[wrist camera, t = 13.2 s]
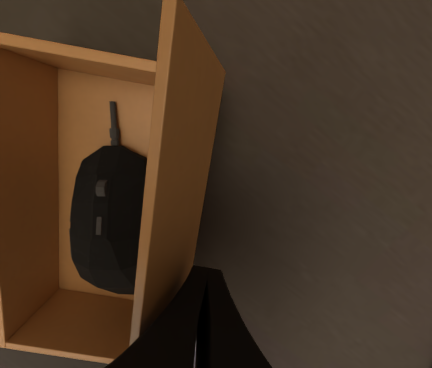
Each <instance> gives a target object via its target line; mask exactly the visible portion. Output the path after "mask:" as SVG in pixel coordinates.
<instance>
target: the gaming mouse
mask: <svg viewBox="0 0 432 368" xmlns="http://www.w3.org/2000/svg"><path fill="white" fill-rule="evenodd" d="M109 103H110V118H111V128H109V132H110V138H111V139H112V140H111V145H112V146H102V147H101V148H99V149H98V150H96V151H95V152H93V153H92V154H90V155H89V156H87V157H86V158H85V159H83V160H82V162H81V165H80V167H79V170H78V173H77V175H76V179H75V185H74V191H73V196H72V202H71V212H70V229H69V237H70V252H71V258H72V261H73V263H74V265H75V267H76V269H77V271H78V273H79V275H80V277H81V278H82V279H84V280H85V281H87V282H89V283H90V284H92V285H94V286H95V287H97V288H100V289H103V290H106V291H109V292H113V293H116V294H129V295H134V291H135V280H136V270H137V260H138V249H139V239H140V229H141V218H142V208H143V198H144V187H145V177H146V166H147V158H146V157H144V156H142V155H140V154H138V153H135V152H133V151H131V150H129V149H128V148H126V147H124V146H119V145H120V144H119V140H118V138H120V137H119V129H118V128H117V119H116V103H115V102H114V101H109Z"/></svg>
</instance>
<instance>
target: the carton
mask: <svg viewBox="0 0 432 368" xmlns="http://www.w3.org/2000/svg"><path fill="white" fill-rule="evenodd" d="M156 63H157V61H152V60H147V59H142V58H136V57H131V56H126V55H120V54H115V53H110V52H104V51H99V50H93V49H88V48H83V47H77V46H72V45H67V44H61V43H56V42H51V41H45V40H40V39H35V38H29V37H24V36H18V35H13V34H8V33H2V32H0V347H2V348H8V349H15V350H21V351H28V352H35V353H41V354H48V355H54V356H61V357H67V358H74V359H80V360H87V361H93V362H100V363H106V364H110V363H111V362H112V361H113V360H114V359H116V358H117V357H118V356H119V355H120V354H122V353H123V352H124V351H125V350H126V349H127V348H128V347H129V343H130V332H131V322H132V311H133V301H134V295H129V294H116V293H113V292H109V291H106V290H103V289H100V288H97V287H95V286H94V285H92V284H90V283H89V282H87V281H85V280H84V279H82V278H81V277H80V275H79V273H78V271H77V269H76V267H75V265H74V263H73V261H72V258H71V252H70V237H69V229H70V212H71V202H72V196H73V191H74V185H75V179H76V175H77V173H78V170H79V167H80V165H81V162H82V160H83V159H85V158H86V157H87V156H89V155H90V154H92V153H93V152H95V151H96V150H98V149H99V148H101V147H102V146H112V145H111V140H112V139H111V138H110V132H109V128H111V118H110V103H109V101H114V102H115V103H116V119H117V128H118V129H119V137H120V138H118V140H119V144H120V145H119V146H124V147H126V148H128V149H129V150H131V151H133V152H135V153H138V154H140V155H142V156H144V157H146V158H147V156H148V146H149V135H150V125H151V115H152V104H153V94H154V84H155V73H156Z"/></svg>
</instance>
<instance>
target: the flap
mask: <svg viewBox="0 0 432 368" xmlns="http://www.w3.org/2000/svg"><path fill="white" fill-rule="evenodd" d="M225 73H226V72H225V70H224V68H223V67H222V65H221V63H220V62H219V60H218V59H217V57H216V55H215V54H214V52H213V50H212V49H211V47H210V45H209V44H208V42H207V40H206V39H205V37H204V35H203V34H202V32H201V30H200V29H199V27H198V25H197V24H196V22H195V20H194V19H193V17H192V15H191V14H190V12H189V10H188V9H187V7H186V5H185V4H184V2H183V0H163V1H162V11H161V22H160V32H159V42H158V53H157V63H156V73H155V84H154V94H153V104H152V115H151V125H150V135H149V146H148V156H147V166H146V177H145V187H144V198H143V208H142V218H141V229H140V239H139V249H138V260H137V270H136V280H135V291H134V301H133V311H132V322H131V332H130V343H129V346H130V345H131V344H132V343H133V342H134V341H135V340H137V339H138V338H139V337H140V336H141V335H142V334H143V333H144V332H145V331H146V330H147V329H148V328H149V326H150V325H151V324H152V323H153V322H154V321H155V320H156V319H157V318H158V317H159V315H160V314H161V313H162V312H163V311H164V309H165V308H166V307H167V306H168V304H169V303H170V302H171V301H172V299H173V298H174V297H175V295H176V294H177V292H178V291H179V289H180V288H181V287H182V285H183V283H184V282H185V280H186V278H187V277H188V275H189V273H190V270H191V267H193V261H194V255H195V249H196V244H197V238H198V232H199V226H200V220H201V214H202V208H203V202H204V196H205V191H206V185H207V179H208V173H209V167H210V161H211V155H212V149H213V143H214V137H215V132H216V126H217V120H218V114H219V108H220V102H221V96H222V90H223V84H224V79H225Z"/></svg>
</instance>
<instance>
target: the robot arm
mask: <svg viewBox="0 0 432 368" xmlns="http://www.w3.org/2000/svg"><path fill="white" fill-rule="evenodd" d="M105 368H272V367H271V365H270V364H269V362H268V361H267V359H266V358H265V356H264V355H263V354H262V352H261V351H260V349H259V347H258V346H257V344H256V343H255V341H254V339H253V338H252V336H251V334H250V333H249V331H248V329H247V327H246V326H245V324H244V322H243V320H242V318H241V316H240V314H239V312H238V310H237V308H236V306H235V304H234V302H233V299H232V297H231V295H230V293H229V290H228V288H227V285H226V282H225V279H224V276H223V273H222V271H221V270H218V269H212V268H206V267H200V266H193V267H191V270H190V273H189V275H188V277H187V278H186V280H185V282H184V283H183V285H182V287H181V288H180V289H179V291H178V292H177V294H176V295H175V297H174V298H173V299H172V301H171V302H170V303H169V304H168V306H167V307H166V308H165V309H164V311H163V312H162V313H161V314H160V315H159V317H158V318H157V319H156V320H155V321H154V322H153V323H152V324H151V325H150V326H149V328H148V329H147V330H146V331H145V332H144V333H143V334H142V335H141V336H140V337H139V338H138V339H137V340H135V341H134V342H133V343H132V344H131V345H130V346H129V347H128V348H127V349H126V350H125V351H124V352H123V353H122V354H120V355H119V356H118V357H117V358H116V359H114V360H113V361H112V362H111V363H110V364H108V365H107V366H106V367H105Z"/></svg>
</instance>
